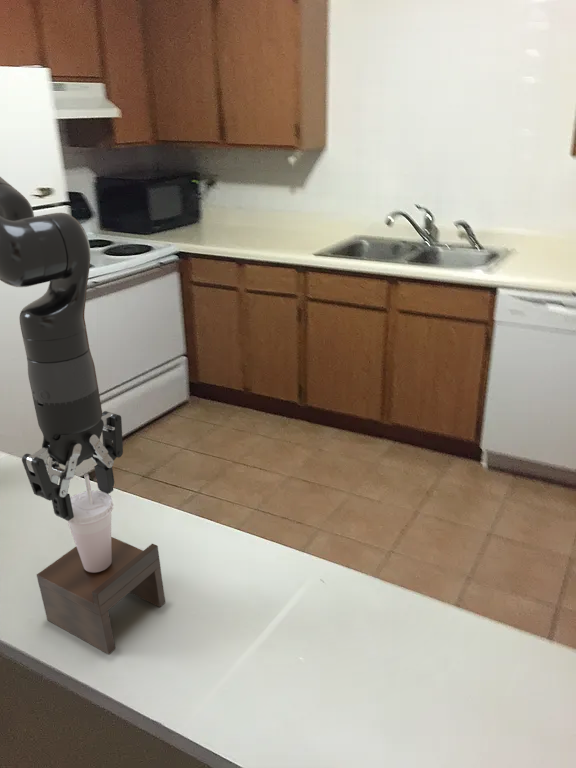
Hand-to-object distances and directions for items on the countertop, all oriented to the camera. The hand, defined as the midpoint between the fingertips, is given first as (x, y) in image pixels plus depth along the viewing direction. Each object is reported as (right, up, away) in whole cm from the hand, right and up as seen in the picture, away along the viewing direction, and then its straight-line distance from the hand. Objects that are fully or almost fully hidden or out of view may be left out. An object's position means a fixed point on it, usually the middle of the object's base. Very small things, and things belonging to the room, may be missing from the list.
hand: (86, 503), depth 86 cm
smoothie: (0, -9, +4) cm, 10 cm away
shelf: (+1, -16, +7) cm, 18 cm away
